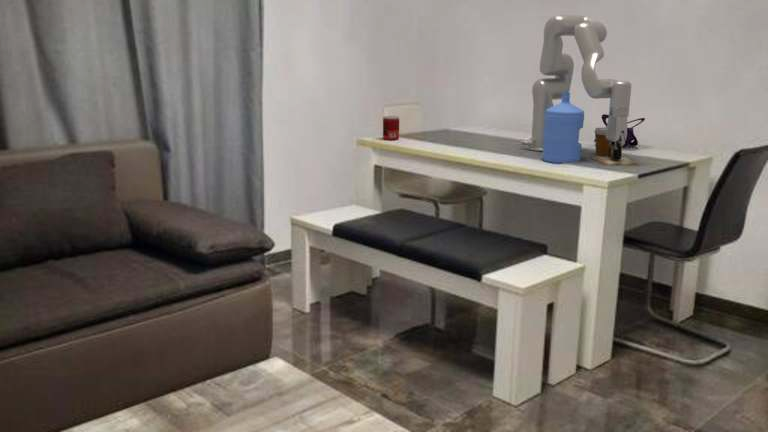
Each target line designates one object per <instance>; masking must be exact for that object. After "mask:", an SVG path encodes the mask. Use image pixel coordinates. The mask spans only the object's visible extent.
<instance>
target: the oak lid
mask: <svg viewBox="0 0 768 432" xmlns="http://www.w3.org/2000/svg"><path fill="white" fill-rule="evenodd" d="M614 149H615V145H611V153H610V157H609V156H594V157H593V156H591V157H590V159H592V160H594V161H596V162H598V163H601V164H603V165H639V162H637V161H634V160H632V159H630V158H627V157H625V156H621V159H613V152H614Z"/></svg>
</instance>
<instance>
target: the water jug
mask: <svg viewBox="0 0 768 432" xmlns="http://www.w3.org/2000/svg"><path fill="white" fill-rule="evenodd" d="M570 94H571V92H570V91H569V92H562V99H561V102H559V103H558V104H555V105H554V106H553V107H550V108H548V109H546V112H545V127H544V136H543V140H544V141H543V151H542V154H541V158H542V161H544V162H547V163H551V164H561V165H564V163H573V162H580V161H581V159H582V144H581V143H580V142H579V141H580V140H579V139H580V131H581V129H583V128H584V121H585V111H584V110H583V109H581V108H579V107H578V106H577V105H574V104H572V103H571V102H570Z"/></svg>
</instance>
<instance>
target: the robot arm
mask: <svg viewBox="0 0 768 432" xmlns="http://www.w3.org/2000/svg"><path fill="white" fill-rule="evenodd" d="M607 31H608V30H607V28H606V26H605V25H604V24H603V23H602V22H600V21H598V20H595V19H592V18H589V17H587V16H584V15H575V14H574V15H573V14H572V15H570V14H559V15H554V16H552V17H550V18H549V19H548V20H547V21H546V22H545V24H544V29H543V45H542V48H541V55H540V60H539V61H540V62H539V72H540V73H541V74H542V75H543V76H546V78H540V79H537V80H536V81H535V82H534V83H533V85H532V88H531V92H532V103H533V106H532V108H533V109H532V125H531V137H530V138H529V139H527V140H520V145H521V146H527V150H530V151H535V152H543V141H544V140H543V136H544V127H545V112H546V109H548V108H550V107H553V106H555V105H554V102H553V101H556V100H557V101H558V100H562V92H569V93H570V90H571V87H572V80H573V74H574V67H575V63H574V59H573V58H572V56H571V55H570V54H568V53H563V49H564V48H563V47H564V41H563V39H562V37H563V36H564V37H565V36H568V37H574V39H575V42H576V44H577V47H578V50H579V52H580V55H581V57H582V59H583V63H582V66H581V67H582V68H581V73H580V74H581V82H582V84H583V87H584V90H585V92H586V94H587V95H588V96H589V97H590V98H592V99H595V100H599V99H609V108H608V109H609V110H608V115H609V118H607V129H606V139H608V140H609V156H608V157H610V153H611V145H615V149H614V152H613V159H621V157H622V154H623V153H622V152H623V148H624V147H623V145H624V144H625V141H626V137H627V127H628V124H627V122H628V117H629V115H630V104H631V95H632V93H631V92H632V83H631V82H630V81H629V80H628V81H627V80H626V81H625V80H618V79H617V80H616V79H611V78H609V79H608V78H606V79H605V78H604V79H600V78H599V77H598V75H597V73H596V67H595V66H596V63H598V62H600V61H601V60H602V59H603V58H604V57H605V52H604V49H603V47H602V44H601V43H603V42H604V41H605V40H606V39H607V36H608V35H607V34H608V32H607ZM547 76H548V78H547ZM549 76H550V77H549ZM553 76H554V77H553ZM618 140H619V141H618ZM617 143H618V145H617Z"/></svg>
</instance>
